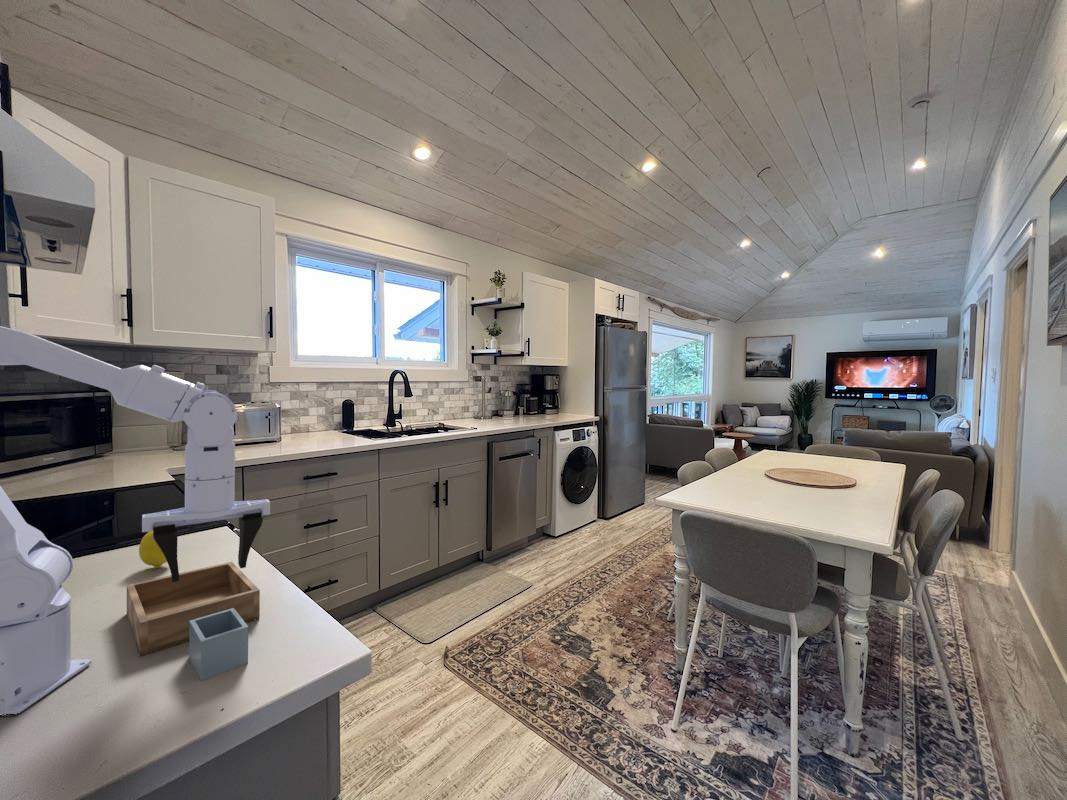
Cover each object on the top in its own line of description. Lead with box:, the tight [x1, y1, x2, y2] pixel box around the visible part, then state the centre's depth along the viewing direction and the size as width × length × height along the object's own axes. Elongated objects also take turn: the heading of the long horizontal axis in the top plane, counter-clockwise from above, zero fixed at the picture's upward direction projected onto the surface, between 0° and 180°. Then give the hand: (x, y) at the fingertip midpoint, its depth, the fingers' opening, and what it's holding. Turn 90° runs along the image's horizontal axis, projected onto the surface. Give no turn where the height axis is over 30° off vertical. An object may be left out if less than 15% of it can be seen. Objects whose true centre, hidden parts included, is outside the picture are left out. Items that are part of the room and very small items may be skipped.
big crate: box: [126, 561, 261, 657], centre depth 70 cm, size 16×14×4 cm
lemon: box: [138, 531, 168, 569], centre depth 88 cm, size 6×6×8 cm
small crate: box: [188, 608, 249, 682], centre depth 59 cm, size 7×5×5 cm
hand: (210, 572), depth 64 cm, fingers open, 7 cm apart
